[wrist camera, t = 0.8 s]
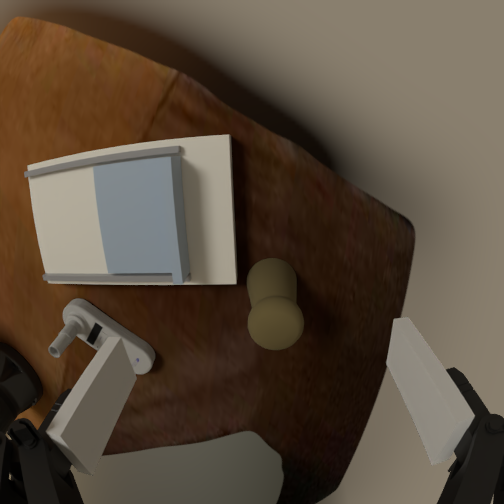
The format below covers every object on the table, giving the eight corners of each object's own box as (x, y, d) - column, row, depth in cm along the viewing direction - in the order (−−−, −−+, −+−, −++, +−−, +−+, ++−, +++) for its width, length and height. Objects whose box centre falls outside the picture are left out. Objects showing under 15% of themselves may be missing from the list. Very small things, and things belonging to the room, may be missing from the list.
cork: (269, 312, 38) (273, 369, 28) (235, 280, 37) (228, 331, 26) (307, 283, 37) (324, 334, 26) (274, 247, 35) (281, 290, 25)
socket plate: (57, 276, 37) (45, 285, 34) (38, 163, 32) (23, 166, 29) (237, 275, 36) (235, 287, 33) (231, 135, 31) (228, 134, 28)
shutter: (110, 271, 34) (97, 284, 30) (95, 166, 30) (78, 169, 26) (190, 270, 33) (182, 284, 30) (180, 155, 29) (170, 156, 26)
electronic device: (129, 415, 33) (34, 350, 30) (146, 368, 42) (66, 313, 39) (145, 396, 32) (41, 326, 29) (162, 349, 41) (76, 289, 38)
